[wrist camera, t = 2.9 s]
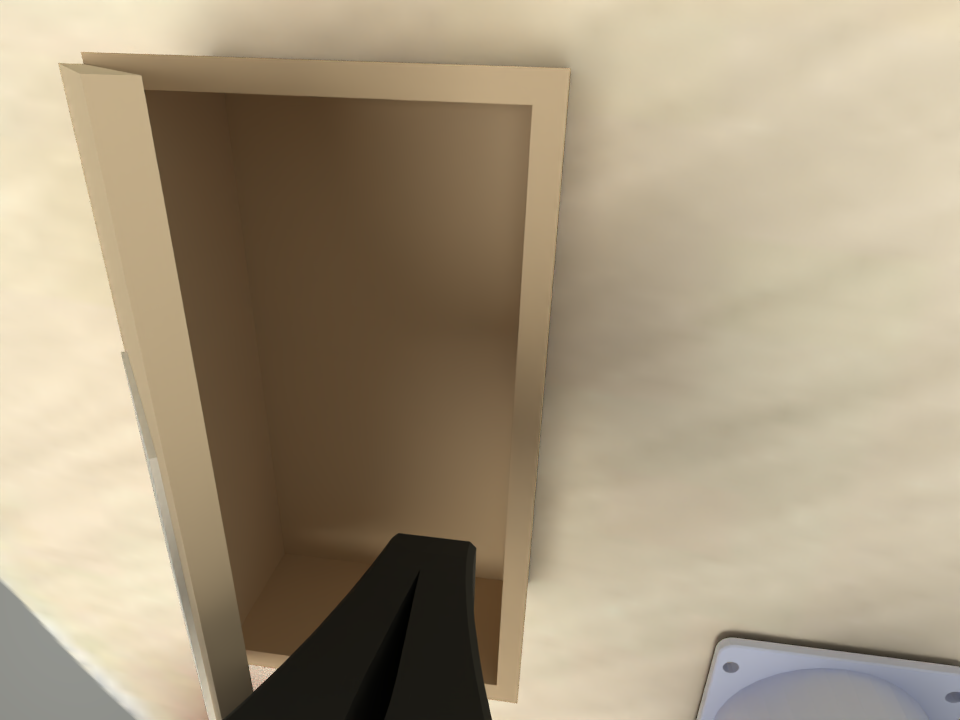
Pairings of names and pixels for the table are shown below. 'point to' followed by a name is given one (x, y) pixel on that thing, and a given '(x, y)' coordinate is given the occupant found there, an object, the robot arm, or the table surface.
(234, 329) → the kraft box
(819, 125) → the table surface
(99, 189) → the lid flap
